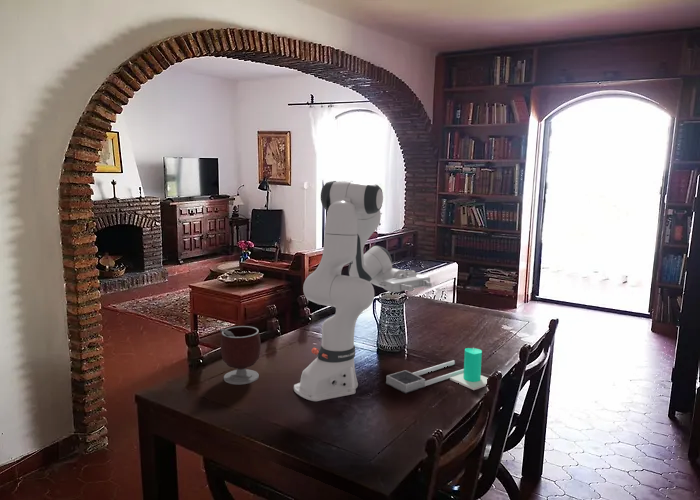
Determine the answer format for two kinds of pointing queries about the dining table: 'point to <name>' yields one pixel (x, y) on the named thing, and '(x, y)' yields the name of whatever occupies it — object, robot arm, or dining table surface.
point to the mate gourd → (240, 353)
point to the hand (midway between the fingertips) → (421, 287)
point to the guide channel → (439, 376)
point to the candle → (472, 364)
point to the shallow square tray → (405, 381)
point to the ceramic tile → (469, 384)
